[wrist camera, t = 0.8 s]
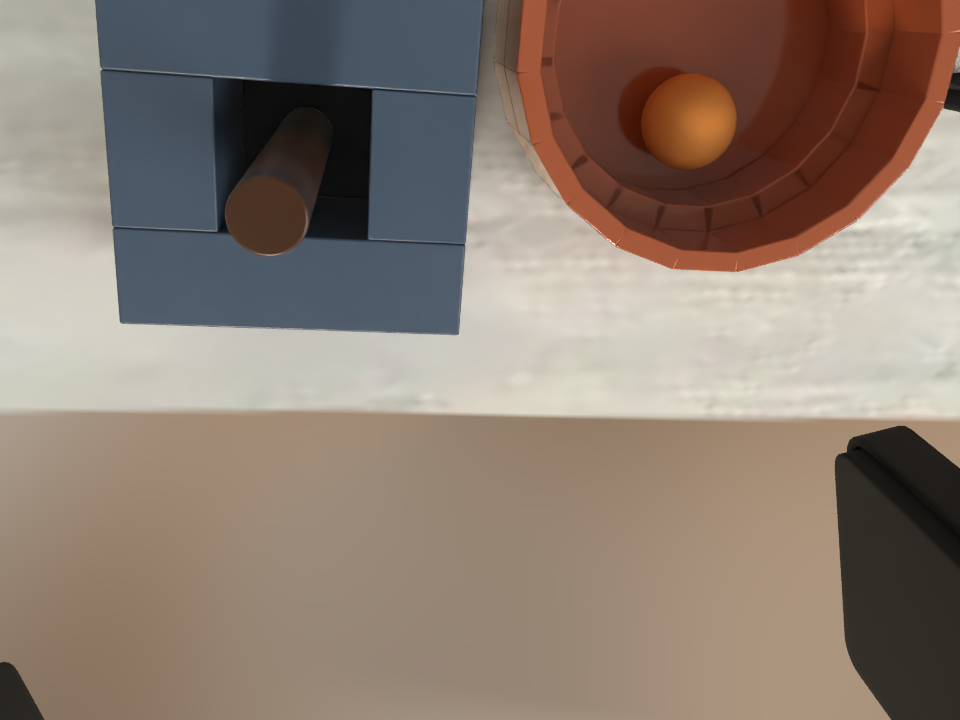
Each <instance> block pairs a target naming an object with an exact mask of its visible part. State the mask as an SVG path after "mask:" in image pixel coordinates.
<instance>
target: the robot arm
mask: <svg viewBox="0 0 960 720" xmlns="http://www.w3.org/2000/svg"><path fill="white" fill-rule="evenodd" d="M835 480H836V496H837V514H838V530H839V547H840V561H841V562H840V563H841V581H842V596H843V613H844V631H845V641H846V646H847V650H848V653H849V656H850V659H851V661H852V663H853V665H854V667H855V669H856V670H857V672H858V674H859V675H860V677H861V678H862V679H863V681H864V682H865V684H866V685H867V686H868V688H869V689H870V691H871V692H872V693H873V695H874V696H875V698H876V699H877V700H878V702H879V703H880V704H881V706H882V707H883V709H884V710H885V712H886V713H887V714H888V716H889V717H890V718H891V720H960V468H959V467H957V466H956V465H955V464H953V463H952V462H951V461H950V460H949V459H947V458H946V457H945V456H944V455H942V454H941V453H940V452H938V451H937V450H936V449H935V448H934V447H932V446H931V445H930V444H928V442H926V441H925V440H924V439H923V438H921V437H920V436H919V435H918V434H916V433H915V432H914V431H913V430H911V429H909V428H908V427H906V426H896V427H893V428H888V429H884V430H880V431H876V432H872V433H869V434H865V435H860V436H857V437H853V438H852V439H851V440H850V441H849V443H848V446H847V452H846V453H842V454H839V455H838V456H837V457H836V460H835ZM0 720H44V718H43V716H42V715H41V713H40V711H39V709H38V707H37V705H36V704H35V702H34V700H33V698H32V697H31V695H30V693H29V691H28V689H27V687H26V686H25V684H24V682H23V680H22V678H21V676H20V675H19V673H18V671H17V670H16V668H15V667H14V666H13V665H12V664H10V663H6V662H2V663H0Z"/></svg>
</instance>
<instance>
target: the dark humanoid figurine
mask: <svg viewBox="0 0 960 720" xmlns="http://www.w3.org/2000/svg"><path fill="white" fill-rule="evenodd" d="M950 86H953V87H956V88H959V89H960V73H952V77H951V81H950ZM943 104H944V107H943V108H945V109H949V110H953V111H958V112H960V90H957V89H948V92H947V96H946V100H945V102H944V103H943Z"/></svg>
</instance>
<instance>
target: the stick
mask: <svg viewBox="0 0 960 720" xmlns="http://www.w3.org/2000/svg"><path fill="white" fill-rule="evenodd" d="M332 140H333V129H332V126H331V123H330V121H329V120H328V118H327V117H326V116H325V115H324V114H323V113H322V112H320V111H319V110H317V109H314V108H310V107H301V108H297V109H295V110H293V111H292V112H290V113H289V114H288V115H287V116H286V118H285V119H284V120H283V122H282V123H281V124H280V126H279V127H278V129H277V130H276V131H275V133H274V134H273V136H272V137H271V138H270V140H269V141H268V142H267V144H266V145H265V147H264V148H263V149H262V151H261V152H260V153H259V155H258V156H257V158H256V159H255V160H254V162H253V163H252V165H251V166H250V167H249V169H248V170H247V171H246V173H245V174H244V176H243V177H242V178H241V180H240V181H239V182H238V184H237V185H236V187H235V188H234V189H233V191H232V192H231V194H230V195H229V197H228V200H227V203H226V207H225V220H226V224H227V227H228V230H229V232H230V234H231V235H232V237H233V238H234V240H235V241H236V242H237V243H238V244H239V245H240V246H241V247H243V248H244V249H246V250H247V251H249V252H251V253H253V254H256V255H260V256H266V257H274V256H280V255H283V254H286V253H288V252H290V251H292V250H293V249H294V248H296V247H297V246H298V245H299V244H300V243H301V242H302V240H303V239H304V237H305V235H306V233H307V230H308V227H309V223H310V220H311V216H312V212H313V209H314V205H315V202H316V198H317V194H318V191H319V187H320V184H321V180H322V177H323V173H324V169H325V166H326V162H327V159H328V155H329V151H330V148H331V144H332Z"/></svg>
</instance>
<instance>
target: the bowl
mask: <svg viewBox="0 0 960 720" xmlns="http://www.w3.org/2000/svg"><path fill="white" fill-rule="evenodd" d="M959 47H960V0H498V8H497V21H496V33H495V46H494V66H495V70H496V75H497V79H498V84H499V89H500V93H501V98H502V102H503V107H504V111H505V116H506V120H507V121H508V125H509V126H510V128H511V130H512V132H513V133H514V135H515V137H516V138H517V140H518V142H519V144H520V145H521V147H522V149H523V150H524V152H525V154H526V156H527V157H528V159H529V161H530V162H531V164H532V166H533V168H534V169H535V171H536V172H537V173H538V175H539V176H540V177H541V178H542V179H543V180H544V181H545V182H546V183H547V184H548V185H549V186H550V187H551V188H552V190H553V191H554V192H555V193H556V194H557V195H558V196H559V197H560V198H561V199H562V200H563V201H564V202H565V203H566V204H567V205H568V206H569V207H570V208H571V209H572V210H573V211H574V212H576V213H577V214H578V215H579V216H580V217H581V218H582V219H584V220H585V221H586V222H587V223H588V224H589V225H591V226H592V227H593V228H594V229H595V230H596V231H597V232H599V233H600V234H601V235H602V236H603V237H604V238H606V239H607V240H608V241H609V242H610V243H611V244H613V245H615V246H616V247H617V248H620V249H622V250H625V251H627V252H630V253H633V254H635V255H638V256H640V257H643V258H645V259H648V260H650V261H653V262H655V263H658V264H661V265H663V266H666V267H668V268H671V269H678V270H699V271H721V272H736V271H737V272H739V271H743V270H747V269H751V268H754V267H758V266H762V265H766V264H769V263H773V262H777V261H781V260H784V259H788V258H792V257H796V256H799V254H803V253H804V252H806V251H808V250H809V249H811V248H813V247H814V246H816V245H818V244H819V243H821V242H823V241H824V240H826V239H828V238H829V237H831V236H833V235H834V234H836V233H838V232H839V231H841V230H843V229H844V228H846V227H848V226H849V225H851V224H853V223H854V222H856V221H857V219H859V218H861V217H862V216H863V215H864V214H865V213H866V212H867V210H868V209H869V208H870V207H871V206H872V205H873V204H874V203H875V202H876V201H877V200H878V199H879V198H880V197H881V196H882V195H883V194H884V193H885V192H886V191H887V190H888V189H889V188H890V187H891V186H892V185H893V184H894V183H895V182H896V180H897V179H898V178H899V177H900V176H901V175H902V174H903V173H904V172H905V171H906V168H909V167H910V165H911V163H912V161H913V160H914V158H915V156H916V154H917V153H918V151H919V149H920V147H921V146H922V144H923V142H924V140H925V139H926V137H927V135H928V133H929V131H930V130H931V128H932V126H933V124H934V123H935V121H936V119H937V117H938V116H939V114H940V112H941V110H942V109H943V107H944V104H943V103H944V102H945V100H946V96H947V92H948V89H949V85H950V81H951V77H952V73H953V70H954V66H955V62H956V58H957V55H958V51H959ZM687 73H697V74H703V75H706V76H709V77H711V78H713V79H715V80H717V81H718V82H719V83H721V84H722V85H723V86H724V87H725V88H726V90H727V91H728V92H729V93H730V95H731V97H732V99H733V101H734V104H735V108H736V114H737V124H736V130H735V134H734V136H733V139H732V141H731V143H730V145H729V146H728V148H727V149H726V150H725V152H724V153H723V154H722V155H721V156H720V157H719V158H717V159H716V160H715V161H713V162H712V163H710V164H708V165H706V166H703V167H701V168H697V169H691V170H681V169H675V168H672V167H669V166H667V165H664V164H663V163H661V162H660V161H659V160H657V159H656V158H655V157H654V156H653V155H652V154H651V153H650V151H649V150H648V148H647V146H646V144H645V142H644V139H643V136H642V131H641V117H642V112H643V109H644V106H645V104H646V102H647V100H648V98H649V97H650V95H651V94H652V92H653V91H654V90H655V89H656V88H657V87H658V86H659V85H660V84H662V83H663V82H665V81H666V80H668V79H670V78H672V77H675V76H677V75H681V74H687Z"/></svg>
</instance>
